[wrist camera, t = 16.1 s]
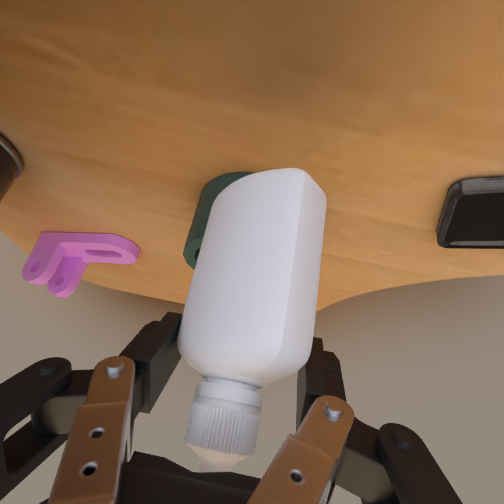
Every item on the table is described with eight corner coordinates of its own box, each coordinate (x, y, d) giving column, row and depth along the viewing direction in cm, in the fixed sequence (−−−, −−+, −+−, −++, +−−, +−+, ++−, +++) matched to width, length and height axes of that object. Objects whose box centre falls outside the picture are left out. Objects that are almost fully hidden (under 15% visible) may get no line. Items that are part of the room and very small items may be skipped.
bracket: (71, 252, 50) (50, 296, 47) (42, 232, 45) (16, 279, 42) (147, 255, 46) (130, 304, 43) (124, 234, 41) (102, 286, 38)
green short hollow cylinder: (208, 231, 37) (194, 282, 34) (191, 164, 28) (170, 226, 25) (305, 246, 36) (299, 299, 33) (322, 181, 27) (315, 247, 24)
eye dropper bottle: (326, 223, 17) (301, 507, 12) (223, 217, 19) (158, 471, 13) (328, 164, 14) (291, 540, 8) (197, 162, 15) (94, 485, 10)
